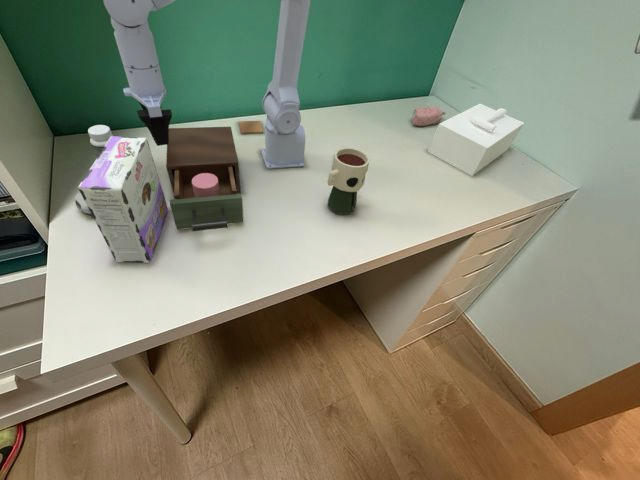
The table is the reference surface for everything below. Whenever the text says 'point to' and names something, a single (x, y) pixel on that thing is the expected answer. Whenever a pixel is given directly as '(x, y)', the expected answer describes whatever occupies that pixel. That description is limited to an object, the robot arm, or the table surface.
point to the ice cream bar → (426, 116)
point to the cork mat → (250, 127)
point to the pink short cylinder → (205, 185)
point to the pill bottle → (99, 137)
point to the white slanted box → (474, 138)
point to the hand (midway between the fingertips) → (159, 134)
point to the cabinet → (201, 150)
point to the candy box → (126, 198)
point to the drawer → (206, 201)
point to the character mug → (346, 178)
